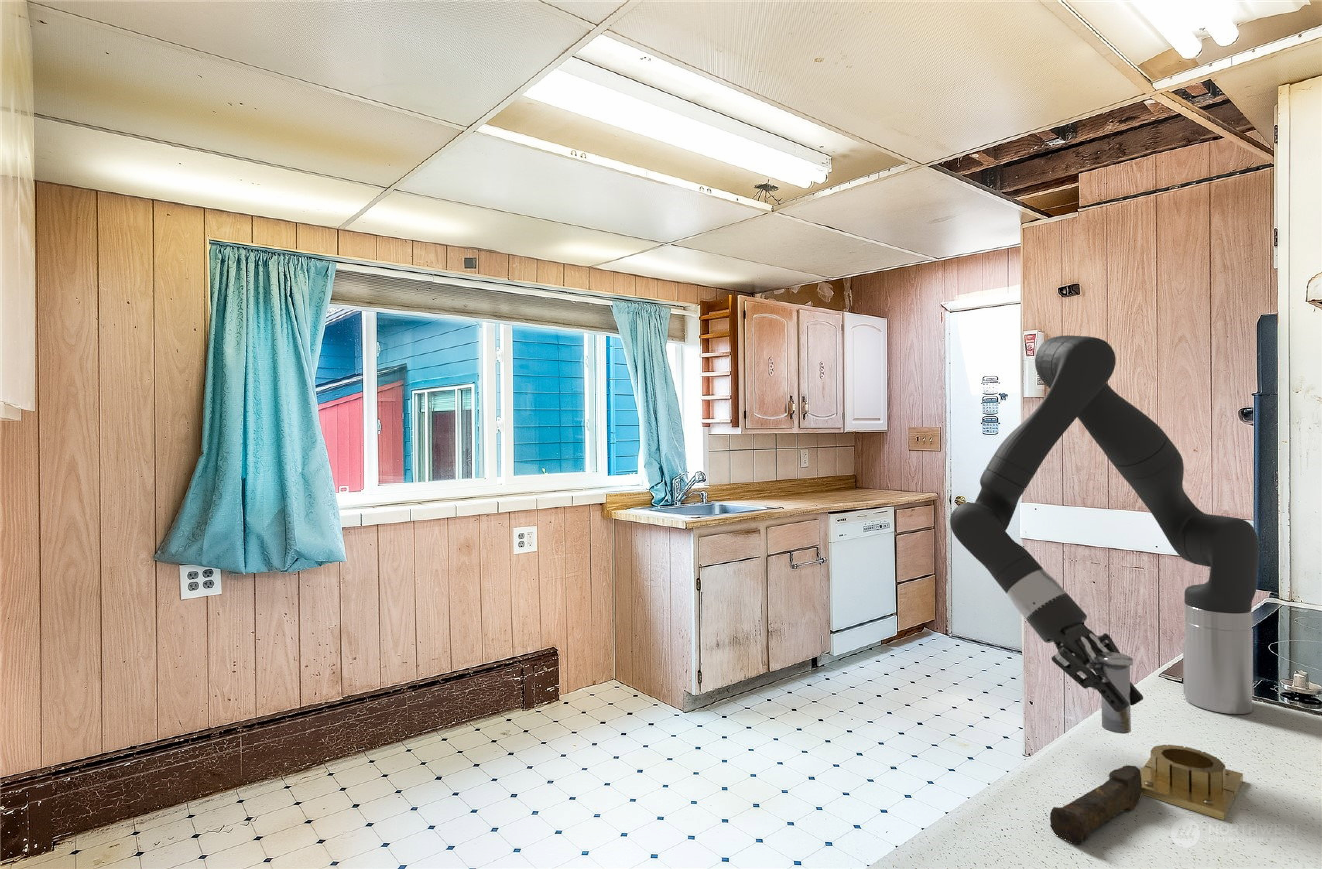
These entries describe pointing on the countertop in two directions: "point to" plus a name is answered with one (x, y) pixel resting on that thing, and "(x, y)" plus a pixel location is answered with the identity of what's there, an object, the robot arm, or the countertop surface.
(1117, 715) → the hinge pin
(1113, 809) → the hand tool
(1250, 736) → the countertop surface
